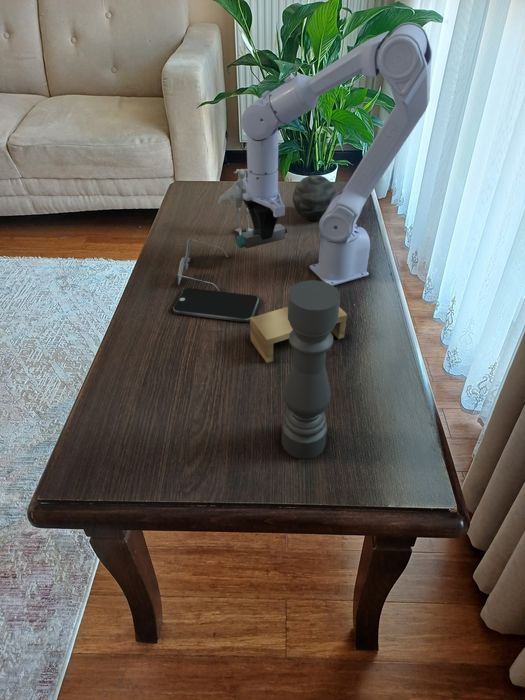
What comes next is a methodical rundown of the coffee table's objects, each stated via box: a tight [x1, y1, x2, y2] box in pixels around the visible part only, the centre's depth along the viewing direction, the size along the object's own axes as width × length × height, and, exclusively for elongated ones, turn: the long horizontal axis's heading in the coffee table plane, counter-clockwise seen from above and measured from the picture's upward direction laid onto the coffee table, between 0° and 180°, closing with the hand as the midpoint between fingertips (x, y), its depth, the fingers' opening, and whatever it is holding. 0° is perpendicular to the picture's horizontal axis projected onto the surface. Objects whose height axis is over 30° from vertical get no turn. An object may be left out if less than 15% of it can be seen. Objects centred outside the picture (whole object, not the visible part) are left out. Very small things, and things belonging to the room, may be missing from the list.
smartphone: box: [172, 287, 260, 323], centre depth 97 cm, size 8×1×15 cm
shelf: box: [249, 306, 348, 364], centre depth 89 cm, size 15×6×5 cm, turn 116°
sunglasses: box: [177, 237, 229, 292], centre depth 105 cm, size 14×8×5 cm, turn 176°
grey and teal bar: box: [235, 223, 288, 249], centre depth 106 cm, size 11×2×2 cm, turn 116°
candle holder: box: [281, 279, 341, 460], centre depth 65 cm, size 6×6×25 cm
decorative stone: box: [292, 174, 337, 221], centre depth 121 cm, size 10×10×10 cm
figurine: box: [217, 168, 254, 236], centre depth 113 cm, size 11×4×15 cm, turn 93°
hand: (263, 234), depth 106 cm, fingers closed on grey and teal bar, 2 cm apart
